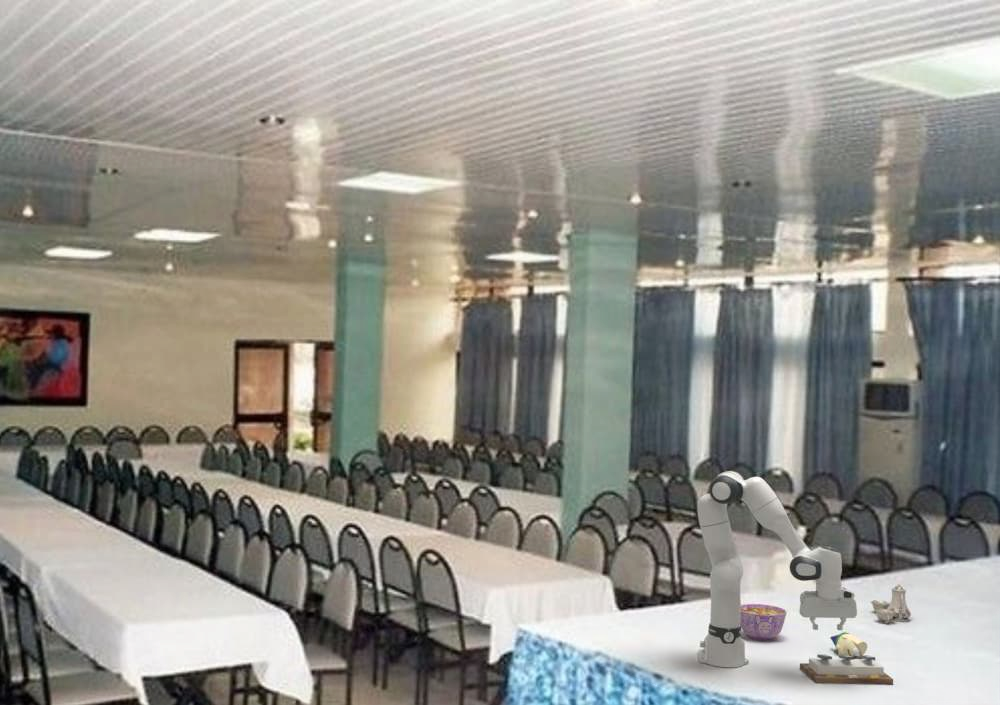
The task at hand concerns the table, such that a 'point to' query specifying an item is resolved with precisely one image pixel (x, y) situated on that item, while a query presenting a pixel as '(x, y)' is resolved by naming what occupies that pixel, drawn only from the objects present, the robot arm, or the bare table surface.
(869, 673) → the switch housing
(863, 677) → the chart board
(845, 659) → the rocker
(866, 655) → the block
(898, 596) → the chinaware
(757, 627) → the bowl of food
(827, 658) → the block
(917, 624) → the table surface
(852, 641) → the cartoon head
